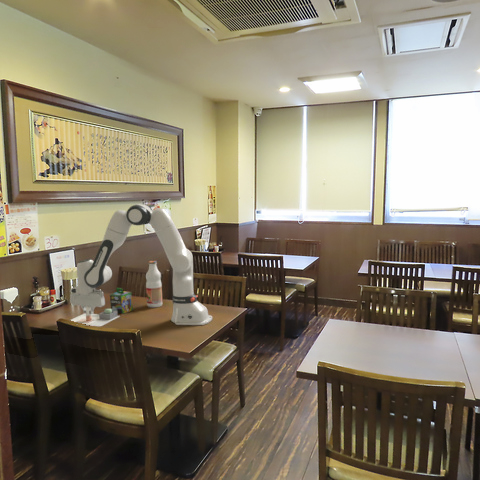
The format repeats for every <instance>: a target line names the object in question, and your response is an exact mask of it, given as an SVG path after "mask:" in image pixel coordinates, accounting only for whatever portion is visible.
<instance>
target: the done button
mask: <svg viewBox="0 0 480 480" xmlns="http://www.w3.org/2000/svg"><path fill="white" fill-rule="evenodd" d="M104 311H105V314H110V313H112V309H111V307H110V308H104Z"/></svg>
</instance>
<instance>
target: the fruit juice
mask: <svg viewBox="0 0 480 480" xmlns="http://www.w3.org/2000/svg"><path fill="white" fill-rule="evenodd" d="M157 264H158V262H157V260H150V261H148V265H149V266H148V271H147V272H146V273H145V279H146V283H145V290H146V306H147V307H148V308H158V307H161V306H163V290H162V289H163V288H162V280H161V278H162V273H161V272H160V271H159V269H158V265H157Z"/></svg>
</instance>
